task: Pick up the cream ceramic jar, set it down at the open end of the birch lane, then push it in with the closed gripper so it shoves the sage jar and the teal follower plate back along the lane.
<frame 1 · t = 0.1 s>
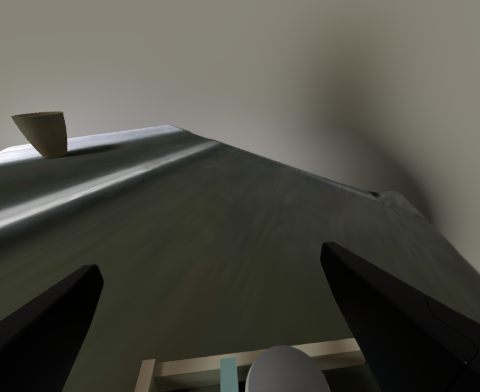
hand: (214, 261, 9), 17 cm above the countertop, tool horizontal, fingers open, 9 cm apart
plant pot: (55, 156, 89), on the countertop
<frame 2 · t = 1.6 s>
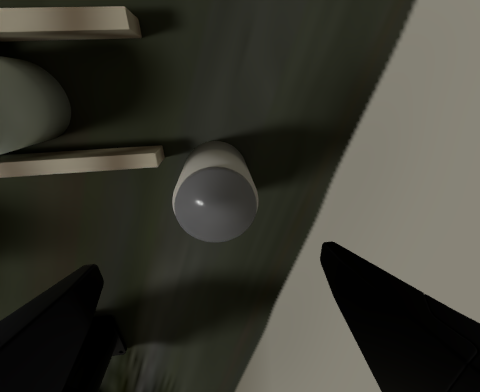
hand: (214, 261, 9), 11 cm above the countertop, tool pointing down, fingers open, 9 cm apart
lane: (19, 102, 15), on the countertop
jar in lane: (29, 102, 16), on the countertop
jar: (216, 171, 19), on the countertop
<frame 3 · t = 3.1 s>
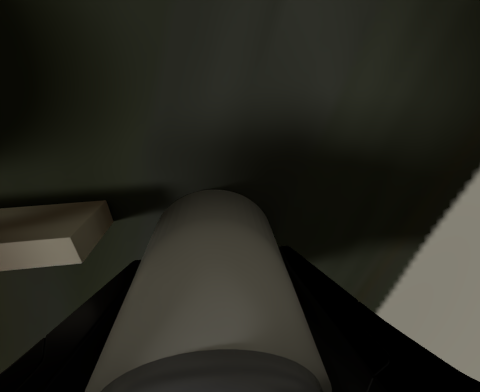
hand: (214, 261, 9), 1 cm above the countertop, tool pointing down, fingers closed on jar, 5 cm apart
jar: (214, 241, 10), on the countertop, touching gripper
when the fingers open (2 cm above the countertop, at t = 6.7 s): jar stays where it is, on the countertop.
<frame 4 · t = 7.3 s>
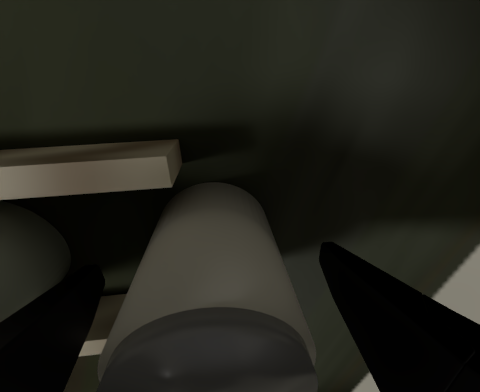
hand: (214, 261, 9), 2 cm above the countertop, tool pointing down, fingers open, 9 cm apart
jar in lane: (7, 249, 10), on the countertop, touching gripper
jar: (214, 231, 11), on the countertop
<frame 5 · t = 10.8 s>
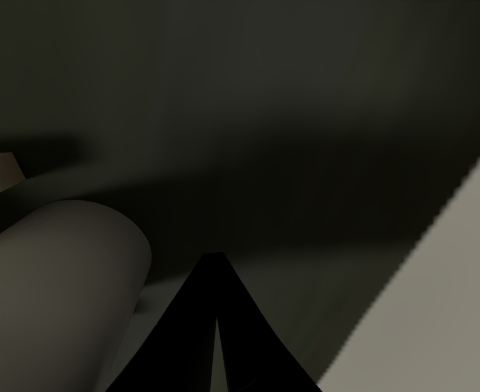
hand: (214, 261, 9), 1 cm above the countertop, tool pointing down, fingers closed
jar: (89, 253, 10), on the countertop, touching gripper
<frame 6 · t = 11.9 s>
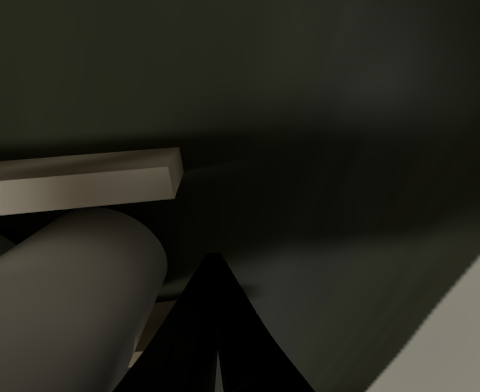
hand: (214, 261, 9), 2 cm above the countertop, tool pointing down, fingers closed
jar: (108, 259, 10), on the countertop, tilted 6°, touching gripper, jar in lane
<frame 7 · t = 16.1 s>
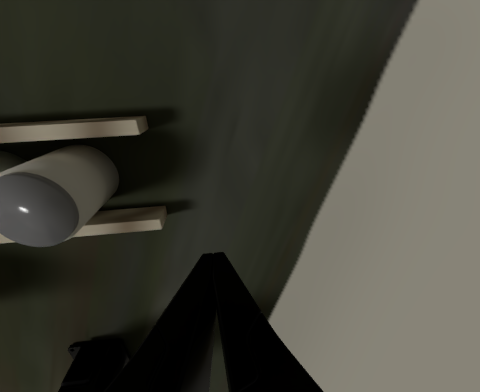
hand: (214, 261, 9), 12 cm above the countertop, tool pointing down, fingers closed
lane: (48, 178, 19), on the countertop
jar in lane: (9, 181, 19), on the countertop
jar: (86, 174, 19), on the countertop
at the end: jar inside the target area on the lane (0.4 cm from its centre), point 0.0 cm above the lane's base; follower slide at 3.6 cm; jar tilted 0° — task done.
